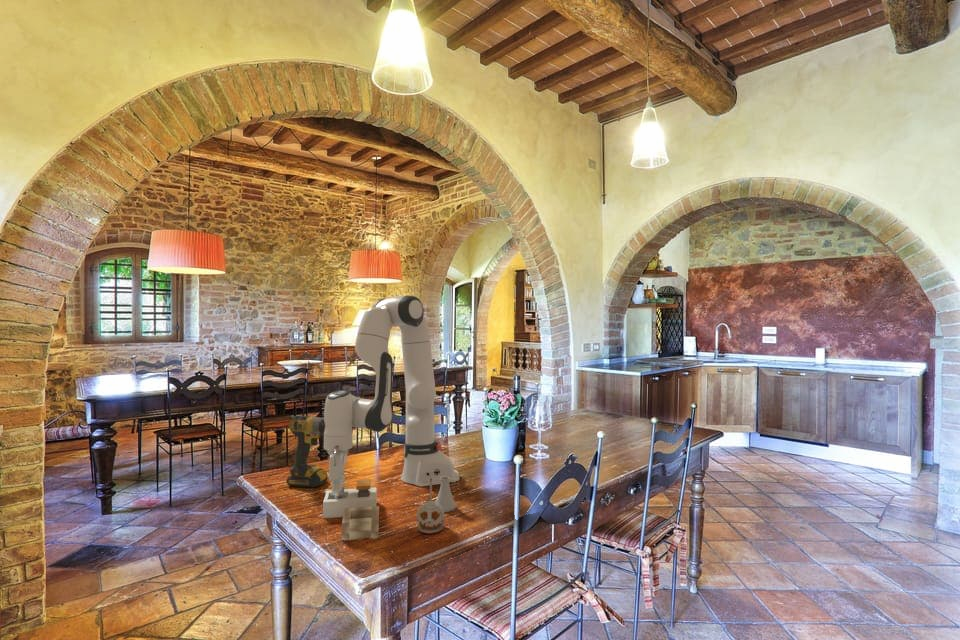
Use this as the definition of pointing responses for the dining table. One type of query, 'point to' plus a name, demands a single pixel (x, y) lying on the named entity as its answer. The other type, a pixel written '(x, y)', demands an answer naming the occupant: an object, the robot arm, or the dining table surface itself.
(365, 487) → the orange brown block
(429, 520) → the decorative ornament
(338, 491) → the grey metallic cylinder
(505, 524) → the dining table surface
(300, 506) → the dining table surface
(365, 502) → the socket block
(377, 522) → the beige square holder
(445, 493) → the flask
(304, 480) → the cordless drill
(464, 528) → the dining table surface
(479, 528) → the dining table surface
